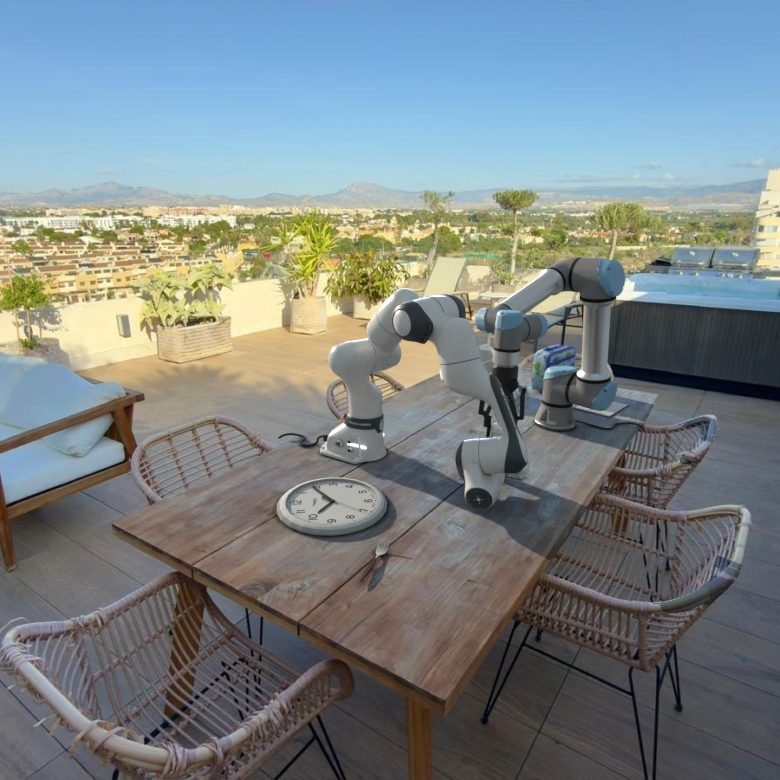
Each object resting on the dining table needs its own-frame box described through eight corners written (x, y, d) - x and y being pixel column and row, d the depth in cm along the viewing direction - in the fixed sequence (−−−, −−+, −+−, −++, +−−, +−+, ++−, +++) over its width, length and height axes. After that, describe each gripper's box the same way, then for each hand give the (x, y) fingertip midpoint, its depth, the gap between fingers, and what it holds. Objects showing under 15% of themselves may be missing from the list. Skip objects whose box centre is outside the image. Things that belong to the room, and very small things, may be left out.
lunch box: (547, 397, 237) (552, 352, 231) (526, 391, 245) (531, 348, 238) (574, 386, 255) (580, 344, 249) (554, 381, 262) (559, 340, 256)
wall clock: (392, 527, 129) (268, 531, 127) (391, 533, 130) (269, 537, 127) (383, 473, 158) (282, 475, 155) (383, 478, 158) (282, 480, 156)
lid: (510, 428, 159) (511, 423, 158) (508, 435, 154) (508, 430, 153) (491, 426, 160) (492, 421, 160) (488, 432, 155) (489, 427, 155)
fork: (354, 582, 112) (354, 574, 111) (381, 542, 126) (381, 535, 125) (365, 585, 111) (365, 577, 110) (391, 545, 125) (391, 537, 125)
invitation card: (608, 416, 214) (573, 407, 224) (608, 416, 214) (573, 408, 224) (628, 404, 229) (594, 396, 238) (628, 405, 229) (594, 397, 238)
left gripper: (528, 469, 143) (533, 450, 156) (455, 457, 150) (466, 440, 163) (526, 490, 145) (531, 470, 158) (454, 477, 152) (465, 458, 165)
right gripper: (540, 364, 151) (532, 438, 158) (475, 358, 157) (470, 430, 164) (538, 370, 145) (530, 447, 151) (470, 364, 150) (465, 438, 157)
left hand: (498, 454), depth 160 cm, fingers closed on jar, 5 cm apart
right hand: (499, 438), depth 158 cm, fingers open, 6 cm apart
